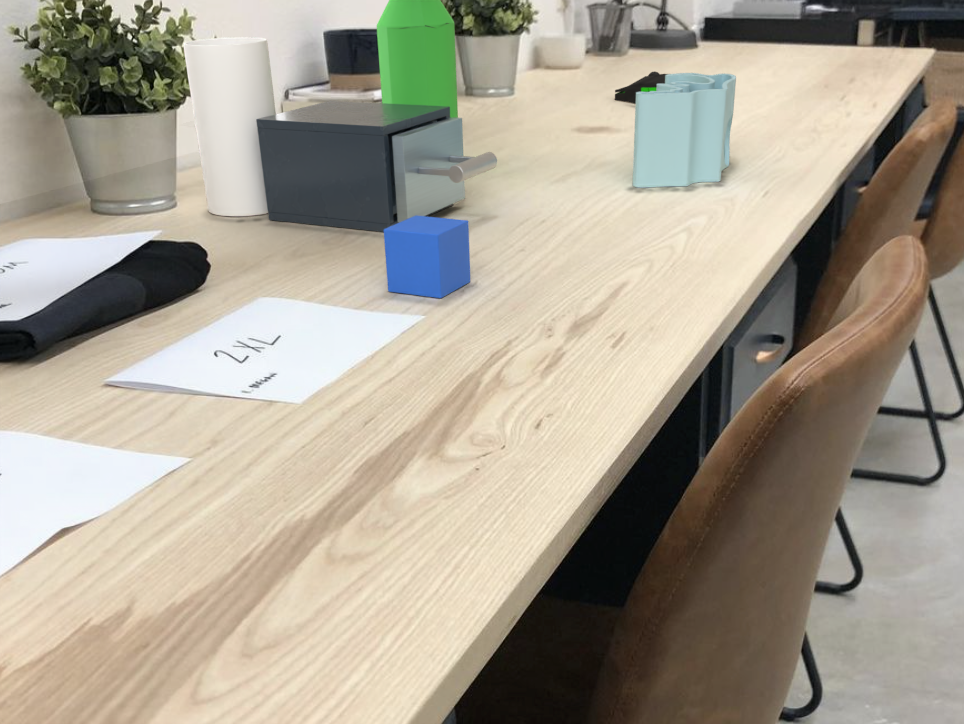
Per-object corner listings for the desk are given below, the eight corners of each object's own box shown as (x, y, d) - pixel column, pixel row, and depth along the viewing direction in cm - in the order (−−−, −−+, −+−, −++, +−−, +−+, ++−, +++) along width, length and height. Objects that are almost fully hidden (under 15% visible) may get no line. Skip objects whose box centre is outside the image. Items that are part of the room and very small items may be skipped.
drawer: (508, 202, 113) (507, 120, 109) (453, 228, 104) (449, 139, 100) (356, 189, 120) (349, 111, 116) (293, 211, 112) (284, 129, 108)
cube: (387, 291, 90) (383, 229, 88) (419, 275, 94) (415, 215, 91) (441, 298, 88) (437, 234, 86) (471, 282, 92) (468, 220, 89)
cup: (239, 196, 123) (217, 36, 115) (301, 202, 120) (283, 37, 112) (192, 213, 117) (165, 44, 108) (256, 219, 113) (233, 46, 105)
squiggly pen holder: (722, 189, 119) (729, 95, 114) (630, 187, 121) (633, 94, 116) (731, 157, 134) (738, 72, 129) (649, 156, 136) (652, 72, 131)
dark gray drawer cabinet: (454, 205, 116) (450, 106, 111) (390, 232, 107) (382, 126, 102) (338, 194, 122) (329, 100, 118) (268, 220, 113) (255, 119, 108)
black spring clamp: (680, 110, 166) (682, 81, 164) (600, 100, 177) (601, 73, 175) (728, 101, 172) (730, 73, 170) (648, 92, 183) (649, 65, 181)
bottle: (473, 164, 135) (466, -75, 122) (432, 177, 129) (419, -73, 116) (415, 158, 139) (401, -73, 126) (372, 171, 133) (353, -71, 120)
